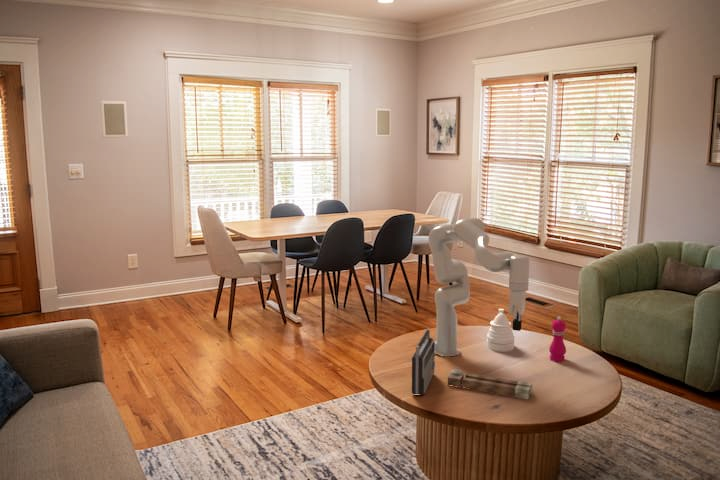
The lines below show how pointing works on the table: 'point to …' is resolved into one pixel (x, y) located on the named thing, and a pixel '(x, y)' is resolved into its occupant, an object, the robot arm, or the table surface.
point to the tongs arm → (499, 380)
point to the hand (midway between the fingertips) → (516, 329)
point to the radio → (423, 364)
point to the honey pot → (500, 334)
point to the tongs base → (488, 385)
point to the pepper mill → (558, 341)
